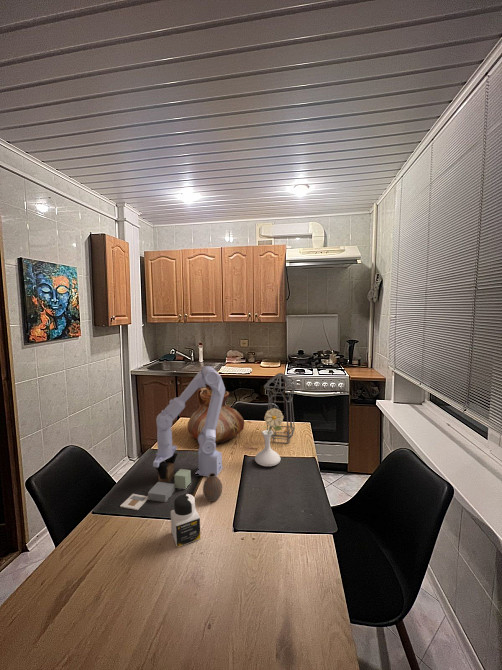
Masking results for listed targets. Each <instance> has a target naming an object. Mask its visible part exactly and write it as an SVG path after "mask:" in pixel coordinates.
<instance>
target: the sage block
mask: <svg viewBox="0 0 502 670" xmlns="http://www.w3.org/2000/svg"><path fill="white" fill-rule="evenodd" d="M191 472H192V471H191V469H186V468H185V469H183V468H179V470H178V471H176V473H174V484H175V488H183V489H186V488H187V486H188V485H189V484H190V483H191V484H192V477H191V476H192V475H191ZM191 484H190V485H191ZM187 489H188V488H187ZM187 489H186V490H187Z"/></svg>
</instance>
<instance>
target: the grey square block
mask: <svg viewBox="0 0 502 670" xmlns="http://www.w3.org/2000/svg"><path fill="white" fill-rule="evenodd" d="M173 492H174V493H175V492H176V489H175V483H171V482H162V481H157V482H156V483H155V484H154V486H152V487H151V488H150V489H149V491H148V492H147V496H148V500H147V501H154V502H160V503H161V502H162V503H166V502H167V501H168V500H169V499H170V498H171V496H172V495H173V494H174V493H173ZM172 493H173V494H172ZM169 497H170V498H169ZM168 498H169V499H168Z"/></svg>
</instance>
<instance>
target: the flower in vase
mask: <svg viewBox="0 0 502 670" xmlns="http://www.w3.org/2000/svg"><path fill="white" fill-rule="evenodd" d="M263 419H264V421H265V423H266V426H265V425H263V424H262V425H261V426H263V427H264V428H265V430H263V431H261V434H262V435H263V438H264V447H263V449H262V450H259V452H257V454H256V455H255V457H254V461H255V462H256V464H258V465H260V466H263V467H273V466H277V465H278V464H279V463H281V459H282V458H281V455H280V454H279V453H278V452H276V451H275V450H274V449H272V447H271V438H272V437H271V435H274V432H275V431H276V432H279V431H283V427H280V426H282V422H283V421H284V415H283V413H282V411H281V410H280V409H278V408H276V407H275V408H274V407H272V409H270V408H269V410H268V409H267V411H266V412H265V415H264V418H263ZM267 425H268V430H267ZM270 426H272V427H271V428H272V429H273V431H274V432H273V431H272V429H270V430H269V428H270Z"/></svg>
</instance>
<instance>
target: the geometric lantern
mask: <svg viewBox="0 0 502 670" xmlns="http://www.w3.org/2000/svg"><path fill="white" fill-rule="evenodd" d="M282 379H283V381H282ZM296 382H297V381H296V380H295V379H293V378H291V377H289V376H287V374H284V373H282V372H277V374H275V375H273V376H272V377H271V378H270V379H267V382H266V383H265V384H264V385H263V387H264V389H266V392H267V398H268V403H267V411H268V410H270V409H273V408H275V409H276V403H285V408H286V409H285V410H286V425H285V426H284V425H279V426H280V427H281V428H286V429H287V432H281V431H280V432H279V431H275V430H274V428H273V427H272V426H269V425H267V424H266V427H267V428H266V430H270V429H271V431H273V433H274V434H272V435H271V438H272V442H273V444H274V443H275V444H283V442H279V441H276V440H284V438H286V442H285V444H290V442H291V438H292V437H293V436H294V432H295V429H296V428H295V417H294V416H295V415H294V404H293V403H294V402H293V397H294V394H295V390H296V384H297V383H296ZM271 383H273V384H274V386H271V385H270V384H271ZM278 383H279V384H278ZM282 384H285V386H282ZM272 388H273V390H272ZM276 389H277V390H276ZM283 389H284V390H283ZM290 389H291V392H290V394H289V392H288V390H290ZM284 392H286V394H287V396H288V400H287V399H286V396H285V395H284ZM272 393H273V395H272ZM277 394H281V395H277ZM276 397H282V398H284V401H279V400H276ZM273 398H274V400H273ZM273 403H274V404H273ZM288 403H289V404H288ZM273 405H274V407H273ZM288 405H289V410H288ZM288 411H289V413H288ZM288 414H289V415H288ZM288 417H289V418H288ZM271 427H272V428H271ZM268 428H269V429H268ZM290 430H291V431H290ZM281 434H286V435H281ZM279 437H283V438H279Z"/></svg>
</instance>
